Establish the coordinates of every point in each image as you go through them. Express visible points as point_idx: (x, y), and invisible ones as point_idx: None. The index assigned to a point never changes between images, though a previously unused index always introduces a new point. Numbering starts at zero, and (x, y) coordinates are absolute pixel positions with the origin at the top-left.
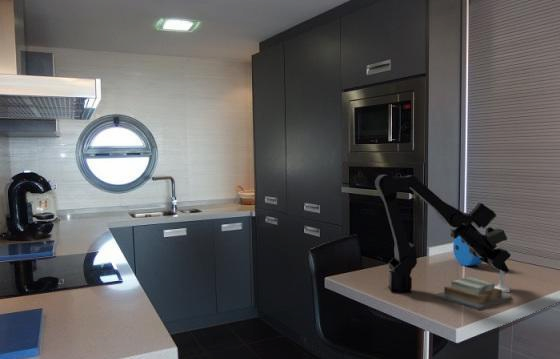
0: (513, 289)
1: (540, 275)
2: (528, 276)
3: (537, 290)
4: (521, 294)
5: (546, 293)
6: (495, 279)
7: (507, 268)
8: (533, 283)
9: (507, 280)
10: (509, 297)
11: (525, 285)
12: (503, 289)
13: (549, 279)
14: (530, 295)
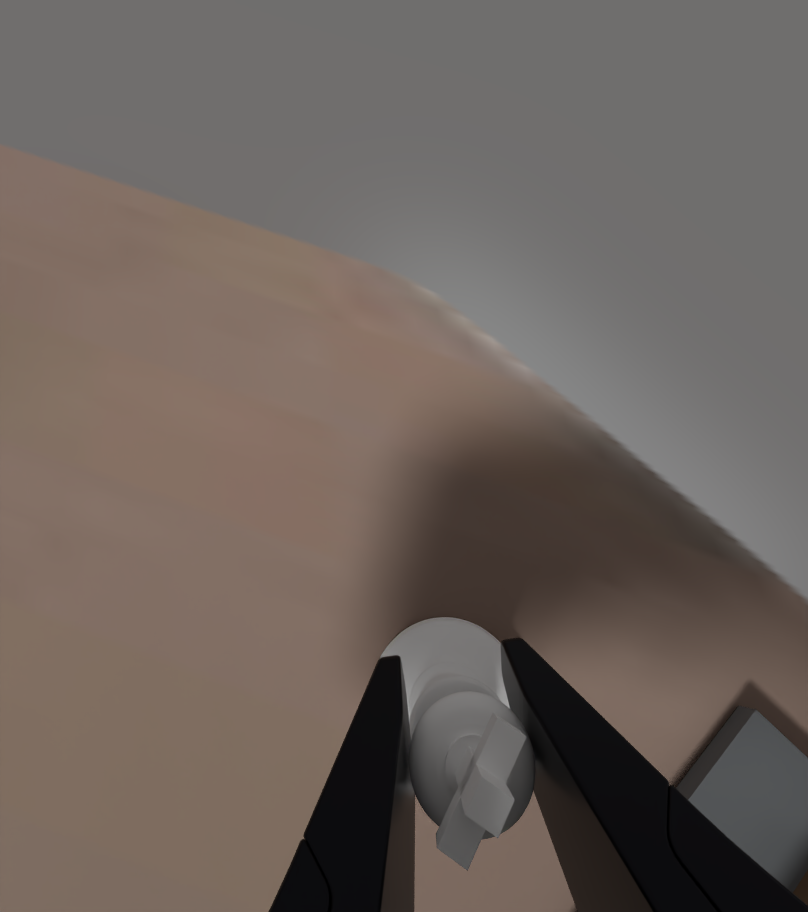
0: (399, 563)
1: (4, 228)
2: (13, 309)
3: (404, 380)
4: (551, 548)
5: (477, 348)
6: (55, 619)
7: (559, 680)
8: (209, 341)
9: (104, 512)
10: (785, 740)
11: (266, 418)
12: None
13: (113, 212)
14: (563, 483)
